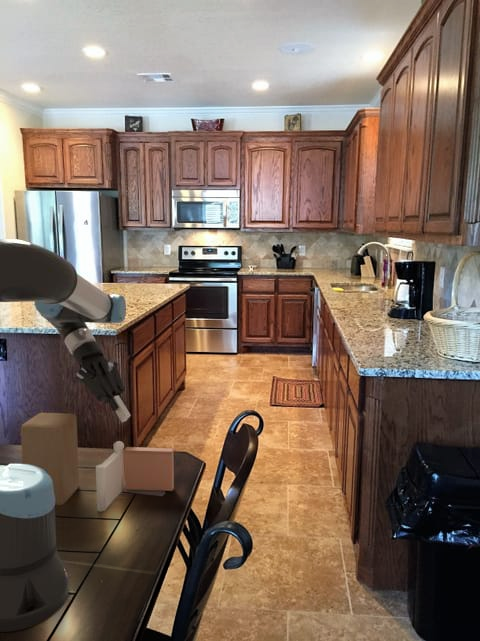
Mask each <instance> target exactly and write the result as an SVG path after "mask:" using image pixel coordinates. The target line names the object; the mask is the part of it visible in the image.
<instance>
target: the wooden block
mask: <svg viewBox="0 0 480 641" xmlns="http://www.w3.org/2000/svg"><path fill="white" fill-rule="evenodd" d="M77 425H78V420H77V415H76V414H74V413H63V412H62V413H60V412H59V413H58V412H40V413H37V414H36V415H35V416H33V417H31V418H30V419H29V420H27V421H26V422H24V423H23V424H21V427H20V440H21V441H20V443H21V461H22V464H29V465H33V466H37V467H39V468H41V469H43V470H44V471H46V472H47V473H48V475H49V476H50V477H51V479H52V482H53V490H54V494H55V506H63V505H65V504H66V503H67V502H68V500H69V499H70V498H71V497H72V496H73V495H74V493H75V492H76V491H77V490H78V488H79V487H80V473H79V451H78V450H79V448H78V426H77Z"/></svg>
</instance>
